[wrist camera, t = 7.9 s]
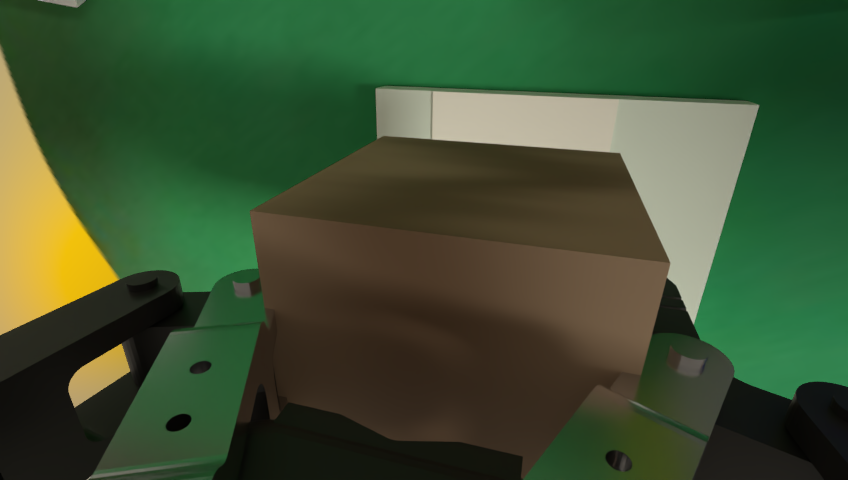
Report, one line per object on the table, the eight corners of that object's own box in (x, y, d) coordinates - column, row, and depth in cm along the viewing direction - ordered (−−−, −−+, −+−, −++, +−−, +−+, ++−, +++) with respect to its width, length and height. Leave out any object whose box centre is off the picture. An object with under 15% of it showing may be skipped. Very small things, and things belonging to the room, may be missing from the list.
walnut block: (619, 153, 11) (671, 263, 6) (581, 355, 13) (591, 563, 8) (383, 135, 12) (249, 211, 7) (387, 321, 15) (290, 479, 10)
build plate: (747, 101, 17) (760, 105, 16) (644, 455, 24) (648, 476, 23) (385, 85, 20) (374, 88, 19) (392, 400, 28) (385, 416, 26)
